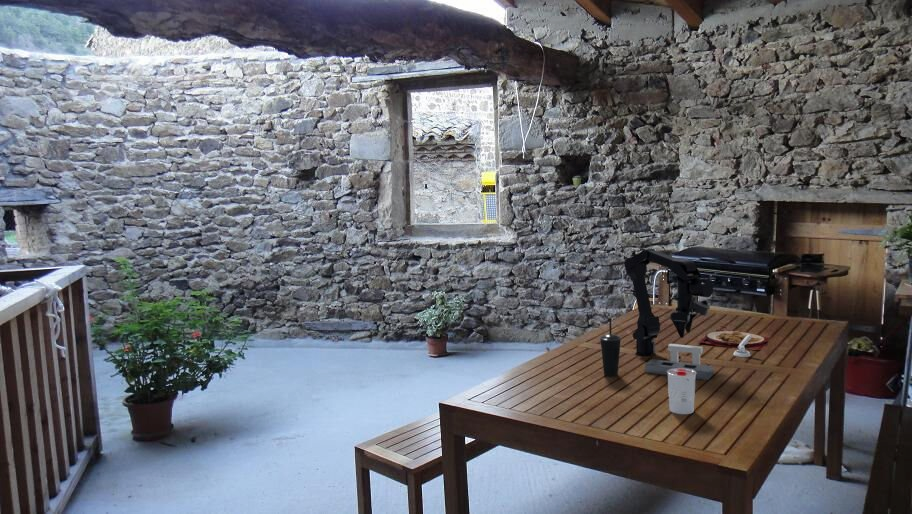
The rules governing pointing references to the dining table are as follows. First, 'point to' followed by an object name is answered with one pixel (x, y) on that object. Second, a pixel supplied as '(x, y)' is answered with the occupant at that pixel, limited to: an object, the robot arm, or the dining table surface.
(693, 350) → the clip
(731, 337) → the plate with food
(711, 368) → the rail
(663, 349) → the dining table surface
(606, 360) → the drinking cup
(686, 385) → the white cylindrical container
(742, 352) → the hook
